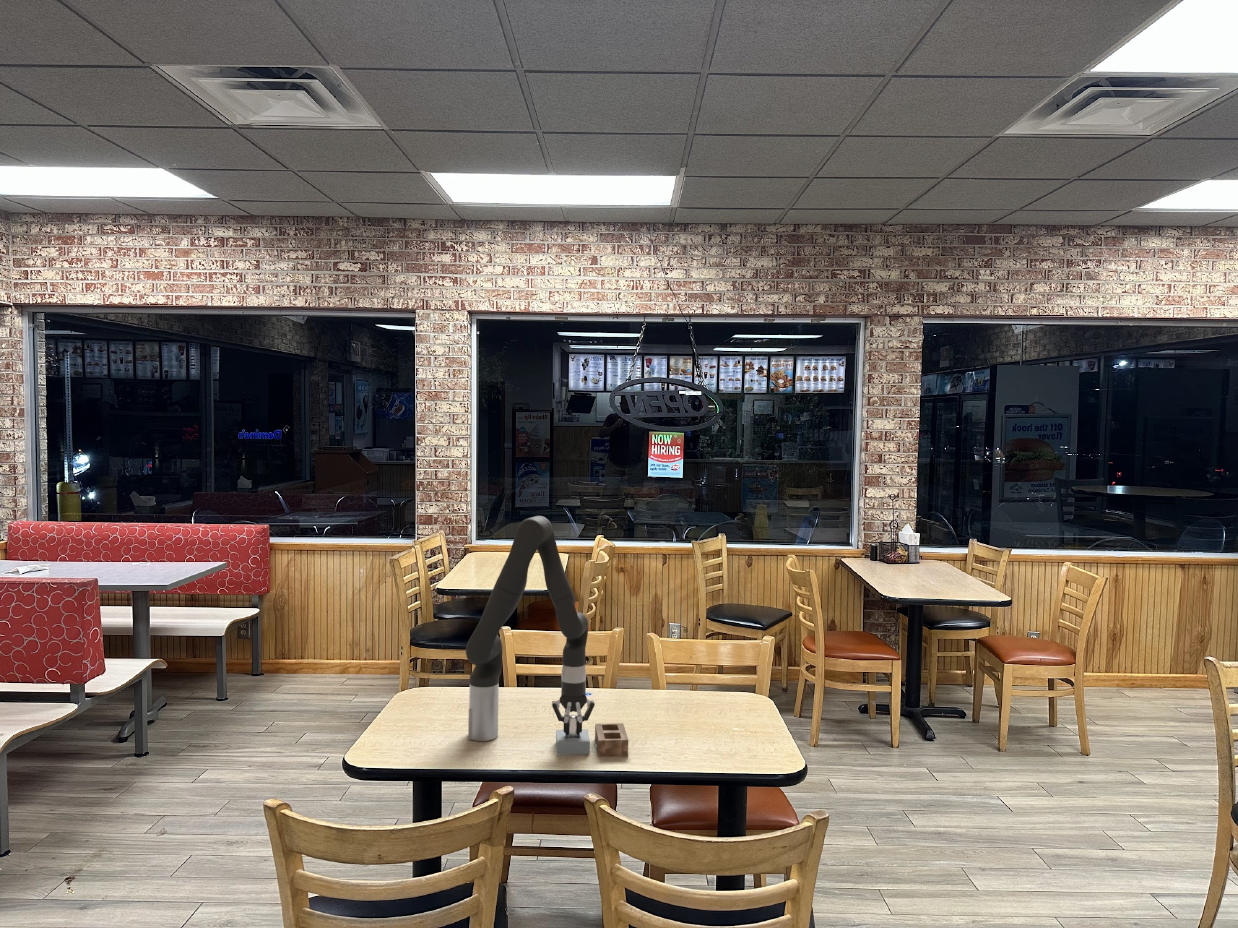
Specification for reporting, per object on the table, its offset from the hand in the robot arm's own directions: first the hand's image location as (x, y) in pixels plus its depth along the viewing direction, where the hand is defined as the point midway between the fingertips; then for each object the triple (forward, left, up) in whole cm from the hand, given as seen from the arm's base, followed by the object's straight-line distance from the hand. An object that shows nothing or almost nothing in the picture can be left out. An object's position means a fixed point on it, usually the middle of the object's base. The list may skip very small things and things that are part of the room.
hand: (572, 733), depth 243 cm
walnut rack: (+12, 0, -5) cm, 13 cm away
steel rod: (0, 0, -5) cm, 5 cm away
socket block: (0, 0, -5) cm, 5 cm away
